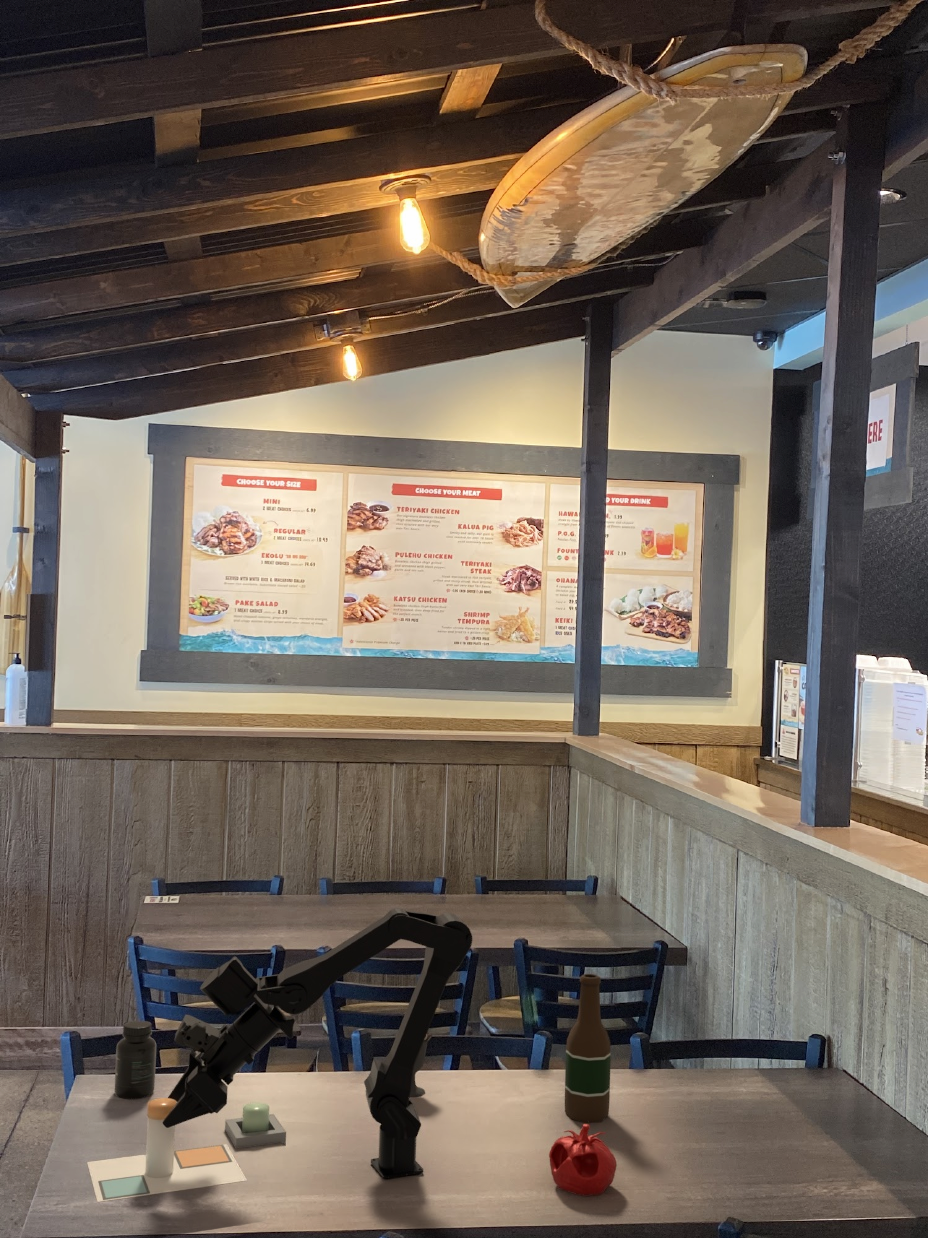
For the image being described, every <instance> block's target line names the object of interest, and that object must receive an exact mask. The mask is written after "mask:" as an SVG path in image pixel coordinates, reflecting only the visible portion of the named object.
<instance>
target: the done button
mask: <svg viewBox="0 0 928 1238" xmlns="http://www.w3.org/2000/svg"><path fill="white" fill-rule="evenodd" d="M269 1114H270V1105H269V1104H267V1103H264V1102H250V1103H246V1104H245V1105H243V1107H242V1118H243V1119H242V1133H243V1134H246V1133H254V1132H262V1131H269Z"/></svg>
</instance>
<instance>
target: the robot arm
mask: <svg viewBox="0 0 928 1238" xmlns="http://www.w3.org/2000/svg"><path fill="white" fill-rule="evenodd" d="M400 940H402V941H407V942H411V943H413V944H414V943H415V944H417V945H420V946H423V947H425V951H424V952H425V953H424V959H423V967H422V970H421V972H420V974H419V978H418V980H417V983H416V986H415V987H414V991H413V992H412V995H411V998H410V1001H409V1003H408V1005H407V1008H406V1010H405V1012H404V1016H403V1018H402V1021H401V1023H400V1026H399V1028H398V1031H397V1036H395V1039H394V1041H393V1044H392V1046H391V1049H390V1051H389V1053H388V1054H387V1055H386V1056H385V1058H384V1059H383V1060H382V1061H380V1060H378V1059H376V1058H374V1059H373V1060H372V1063H371V1069H370V1071H369V1074H368V1076H367V1077H366V1079H365V1080H364V1081H363V1083H364V1086H365V1097H366V1100H367V1101H366V1102H367V1105H368V1108H369V1109H368V1110H369V1112H370V1114H371V1117H372V1118H373V1120H374V1121H375V1122H377V1123H378V1124H380V1125H379V1130H378V1131H379V1132H378V1133H379V1135H378V1136H379V1137H378V1157H376V1158H371V1159H370V1164H371V1165H372V1166H373V1167H374V1169H375V1170H376V1171H377V1172H378V1174H379V1175H380V1176H381V1178H383V1179H391V1178H392V1179H393V1178H399V1177H406V1176H412V1175H418V1174H420V1175H421V1174H423V1173H424V1168H423V1167H422V1165H420V1164H419V1162H418V1161H417V1160H416V1158H417V1155H416V1154H417V1137H418V1134H419V1132H420V1129H421V1127H422V1123H421V1120H420V1118H419V1115H418V1113H417V1109H416V1107H415V1105H414V1102H413V1101H412V1100H411V1099H410V1093H411V1087H412V1078H413V1069H414V1065H415V1063H416V1060H417V1057H418V1055H419V1052H420V1050H421V1047H422V1045H423V1042H424V1040H425V1037H426V1034H427V1033H428V1032H429V1029H430V1027H431V1024H432V1021H433V1019H434V1016H435V1014H436V1011H437V1009H438V1006H439V1005H440V1004H439V1003H440V1002H441V999H442V995H443V994H444V991H445V989H446V986H447V983H448V982H449V979H450V978H451V977H452V976H453V974H454V973H455V972H456V971H457V970H458V969H459V967H460V966H461V965H462V963H463V962H464V960H465V958H466V957H467V955H468V953H469V951H470V949H471V948H472V944H473V935H472V931H471V929H470V928H469V927H468V926H467V924H466V923H465V922H464V921H463V920H462V919H461V918H460V916H459V915H457V914H455V913H451V912H445V913H442V914H439V915H434V914H430V913H424V912H416V911H408V910H404V909H402V908H392V909H391V910H389V911H387V913H386V914H385V915H384V916H382V917H380V918H379V919H377V920H376V921H374V922H373V923H371V924H370V925H369V926H366V927H365V928H363V929H362V930H360V931H358V932H357V933H355V934H354V935H352V936H351V937H349V938H348V939H346V940H345V941H343V942H342V943H339V944H338V945H337V946H335V947H334V948H332V949H331V950H329V951H326V953H324V954H322V955H319V956H317V957H314V958H310V959H306V960H303V961H300V962H298V963H296V964H293V965H291V966H287V967H285V968H284V969H283V970H282V971H280V973H279V974H272V975H266V976H265V975H264V976H259V977H258V976H257V977H256V978H255V977H254V976H253V975H252V974H251V973H250V972H249V971H248V969H247V968H246V967H244V965H243V963H242V961H241V960H240V959H239V958H238V957H237V956H233V957H232V958H231V959H230V960H229V961H226V962H225V963H224V964H222V965H221V966H220V967H219V966H218V967H216V969H214V970H213V971H212V972H211V973H210V974H209V975H208V976H207V978H206V979H205V980H204V981H203V983H202V984H201V986H200V988H199V990H200V991H201V992H203V994H205V996H206V997H207V998H208V999H209V1000H210V1001H211V1002H212V1003H213V1004H214V1006H216V1007H217V1008H218V1009H219V1011H220V1012H222V1013H223V1015H224V1016H225V1017H226V1016H229V1015H230V1016H232V1017H233V1016H238V1015H239V1017H238V1018H237V1019H235V1020H234V1021H233V1022H232V1023H231V1024H229V1023H227V1024H224V1025H222V1026H221V1027H220V1028H219V1029H218V1028H217V1027H215V1026H213V1025H211V1024H210V1023H207V1022H205V1021H203V1020H201V1019H198V1018H196V1017H195V1016H193V1015H190V1014H185V1015H184V1017H183V1019H182V1020H181V1022H180V1024H179V1027H178V1028H177V1030H176V1032H175V1035H174V1036H175V1037H174V1042H175V1043H176V1044H177V1045H179V1046H181V1047H183V1046H185V1047H187V1048H189V1049H190V1050H189V1056H188V1066H187V1068H186V1070H185V1071H184V1072H183V1074H182V1075H181V1077H180V1079H179V1080H178V1081H177V1083H176V1084H175V1086H174V1087H173V1088H172V1091H170V1093H169V1094H168V1097H167V1098H170V1099H174V1100H176V1101H177V1103H176V1105H175V1106H174V1107H173V1109H172V1110H171V1111H170V1112H169V1114H168V1115H167V1117H166V1118H165V1119H164V1121H163V1125H164V1126H165V1127H166V1128H169V1127H172V1126H174V1125H175V1126H177V1125H179V1124H182V1123H184V1122H188V1121H191V1120H193V1119H196V1118H199V1117H202V1116H205V1115H208V1114H210V1115H212V1114H214V1113H216V1114H219V1112H220V1111H221V1110H222V1109H223V1108H224V1107H225V1106H226V1105H227V1103H228V1087H229V1085H230V1084H231V1083H232V1082H233V1081H234V1076H235V1075H236V1074H237V1073H238V1072H239V1071H240V1070H241V1069H242V1068H243V1067H244V1066H245V1065H246V1064H247V1065H248V1066H250V1065H251V1064H252V1063H253V1062H254V1061H255V1055H257V1053H258V1052H260V1051H261V1050H262V1049H263V1047H264V1046H265V1045H266V1044H268V1043H269V1042H270V1041H271V1040H272V1039H273V1037H275V1036H276V1035H277V1034H278V1033H279V1032H280V1031H281V1032H282V1033H283V1034H284V1035H285V1036H287V1038H288V1039H292V1038H293V1037H294V1025H295V1023H296V1018H295V1016H296V1015H300V1014H302V1013H305V1012H306V1011H307V1010H308V1009H309V1008H311V1006H312V1005H314V1004H316V1003H317V1001H319V999H321V998H322V996H323V995H324V994H325V993H326V992H327V990H328V989H330V987H331V986H332V985H333V984H334V983H336V982H337V981H338V980H339V979H340V978H342V977H344V976H345V975H347V974H349V973H350V972H351V971H353V970H354V969H356V968H358V967H359V966H360V965H362V964H364V963H365V962H367V961H369V960H371V959H372V958H373V957H375V956H376V955H378V954H379V953H381V952H382V951H384V950H386V949H388V947H390V946H391V945H393V944H395V943H396V942H398V941H400ZM252 1002H253V1003H252ZM251 1003H252V1004H251ZM250 1004H251V1005H250ZM249 1005H250V1006H249ZM248 1006H249V1007H248ZM245 1009H246V1010H245ZM243 1011H244V1012H243ZM242 1012H243V1013H242ZM285 1013H286V1014H285ZM240 1014H241V1015H240ZM287 1014H290V1015H287Z"/></svg>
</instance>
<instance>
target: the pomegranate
mask: <svg viewBox="0 0 928 1238" xmlns="http://www.w3.org/2000/svg"><path fill="white" fill-rule="evenodd" d="M589 1130H590V1124H589V1123H584V1124H583V1125H582V1127H581V1129H580V1132H579V1134H578V1133H576V1132H575V1131H574V1130H570V1129H569V1130H565V1131H563V1133H567V1132H568V1133H570V1134H571V1135H565V1136H561V1137H559V1138H557V1139H555V1141H554V1142H553V1144H552V1146H551V1147H550V1150H549V1153H548V1157H549V1166H550V1171H551V1175H552V1179H553V1182H554V1183H555V1185H557V1187H558V1188H559V1189H561V1190H562V1191H564V1192H567V1193H568V1192H569V1193H572V1194H575V1195H578V1196H585V1197H586V1196H587V1197H588V1196H598V1195H601V1194H603V1193H604V1192H605V1190H606V1189H607V1188H608V1187H609V1186H611V1185H612V1183H613V1181H614V1178H615V1176H616V1175H615V1174H616V1171H617V1166H618V1165H617V1160H616V1157H615V1156H614V1154H613V1152H612V1151H611V1150H610V1149H609V1148H608V1146H607V1145H606V1144H605V1143H604V1140H601V1139H600V1138H598V1137H597V1136H599V1135H605V1134H606V1133H607V1132H597V1133H595V1134H592V1135H589Z"/></svg>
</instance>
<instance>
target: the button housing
mask: <svg viewBox="0 0 928 1238" xmlns="http://www.w3.org/2000/svg"><path fill="white" fill-rule="evenodd" d="M242 1119H243V1117H237V1118H228V1119H225V1120H224V1123H225V1124H224V1131H225V1132H226V1135H227V1136H228V1138H229V1140H231V1142H232V1145H233V1146H234V1148H235V1149H243V1148H249V1147H257V1146H266V1145H274V1144H280V1143H282V1144H283V1145H284V1146H285V1147H286V1145H287V1131H286V1130H285V1129H286V1128H284V1127H283V1125H282V1123H281V1122H280V1121H279V1119H278V1118H277V1117H276V1114H274V1113H272V1114H271V1113H269V1130H268V1131H262V1132H254V1133H246V1134H244V1133H243V1132H242Z"/></svg>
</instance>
